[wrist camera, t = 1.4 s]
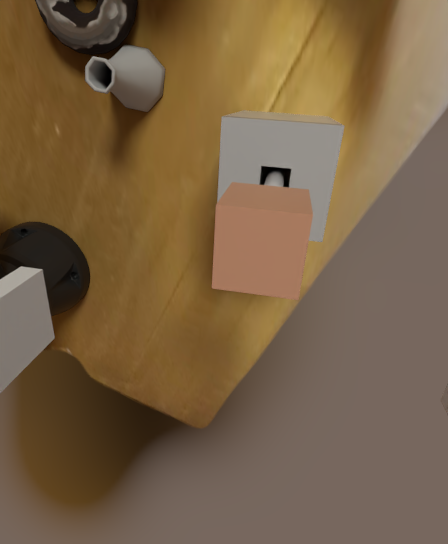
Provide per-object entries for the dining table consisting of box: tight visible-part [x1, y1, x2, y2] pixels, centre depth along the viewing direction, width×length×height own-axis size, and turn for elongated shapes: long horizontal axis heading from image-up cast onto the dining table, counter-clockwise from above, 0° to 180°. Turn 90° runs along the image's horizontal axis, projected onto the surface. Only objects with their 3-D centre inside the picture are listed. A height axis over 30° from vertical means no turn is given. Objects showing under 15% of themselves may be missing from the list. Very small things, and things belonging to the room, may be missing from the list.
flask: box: [85, 44, 165, 112], centre depth 41 cm, size 7×7×10 cm
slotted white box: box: [217, 110, 344, 242], centre depth 39 cm, size 10×10×16 cm
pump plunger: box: [212, 167, 313, 300], centre depth 26 cm, size 4×4×20 cm
